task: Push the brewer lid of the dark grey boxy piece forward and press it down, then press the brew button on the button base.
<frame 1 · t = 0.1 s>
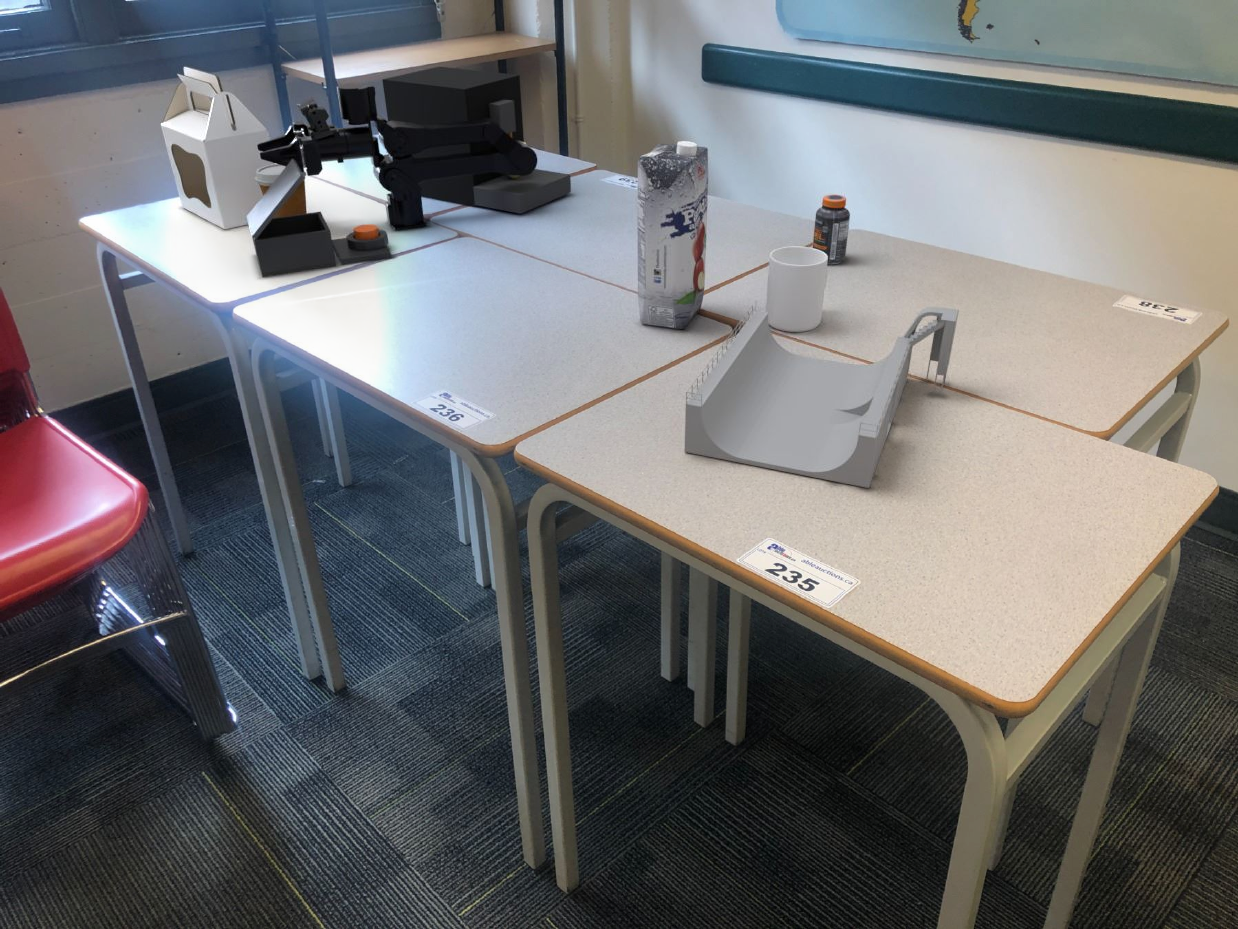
hand: (258, 151, 176), 17 cm above the table, tool horizontal, fingers open, 7 cm apart
disposable coffee cup: (291, 230, 191), on the table
juice carton: (671, 318, 150), on the table
pill bottle: (828, 260, 172), on the table
skate ramp: (822, 417, 122), on the table
coffee maker: (483, 194, 211), on the table
gable box: (233, 212, 202), on the table
mug: (799, 320, 149), on the table
brewer lid: (274, 198, 168), point 12 cm above the table, hinge at 43.2°, touching gripper
brew button: (366, 232, 177), point 3 cm above the table, slide at 0.1 cm
button base: (361, 251, 179), on the table
dark grey boxy piece: (295, 261, 175), on the table
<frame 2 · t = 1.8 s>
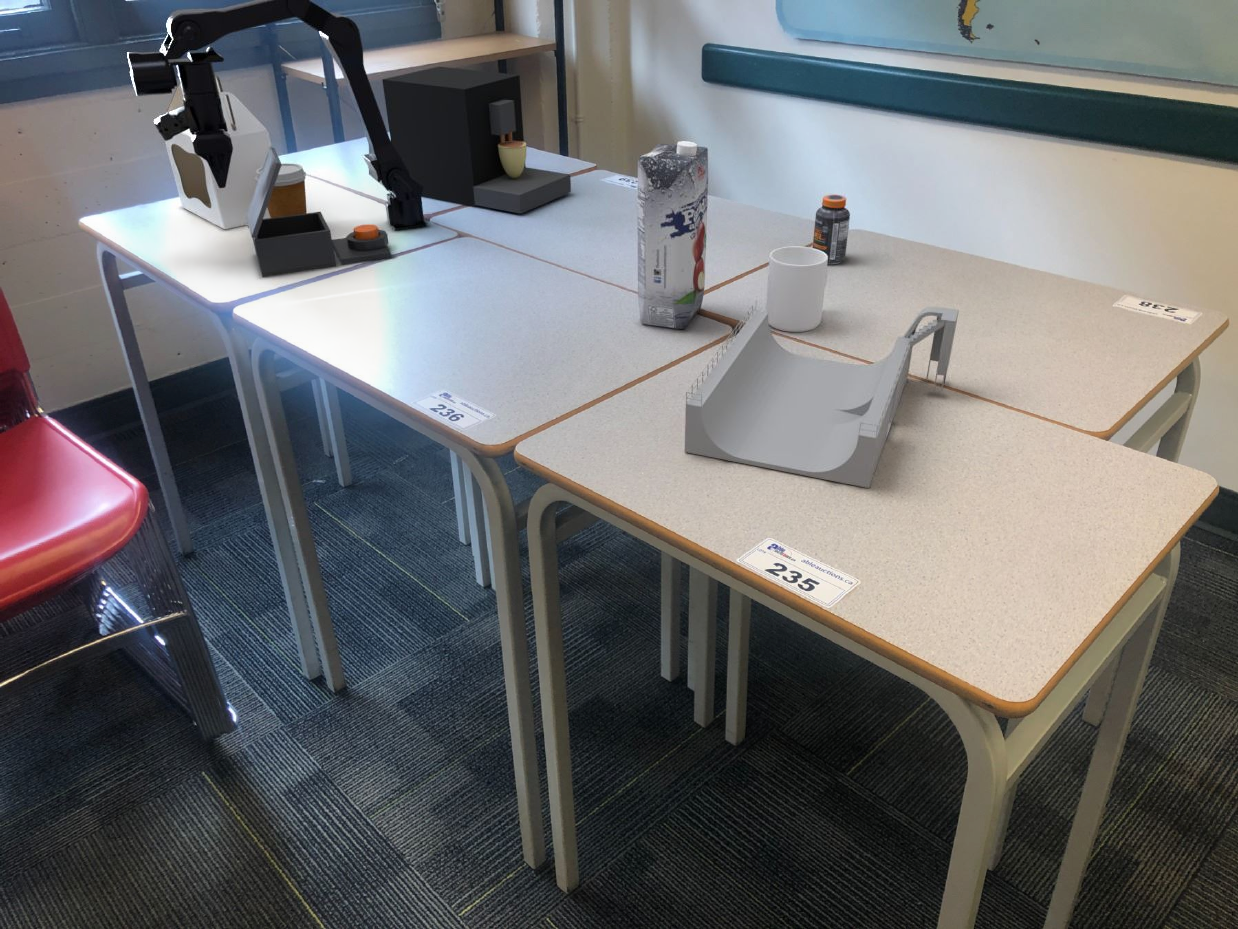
hand: (220, 182, 172), 13 cm above the table, tool pointing down, fingers open, 8 cm apart
brewer lid: (263, 191, 167), point 13 cm above the table, hinge at 60.9°
everything else where it was.
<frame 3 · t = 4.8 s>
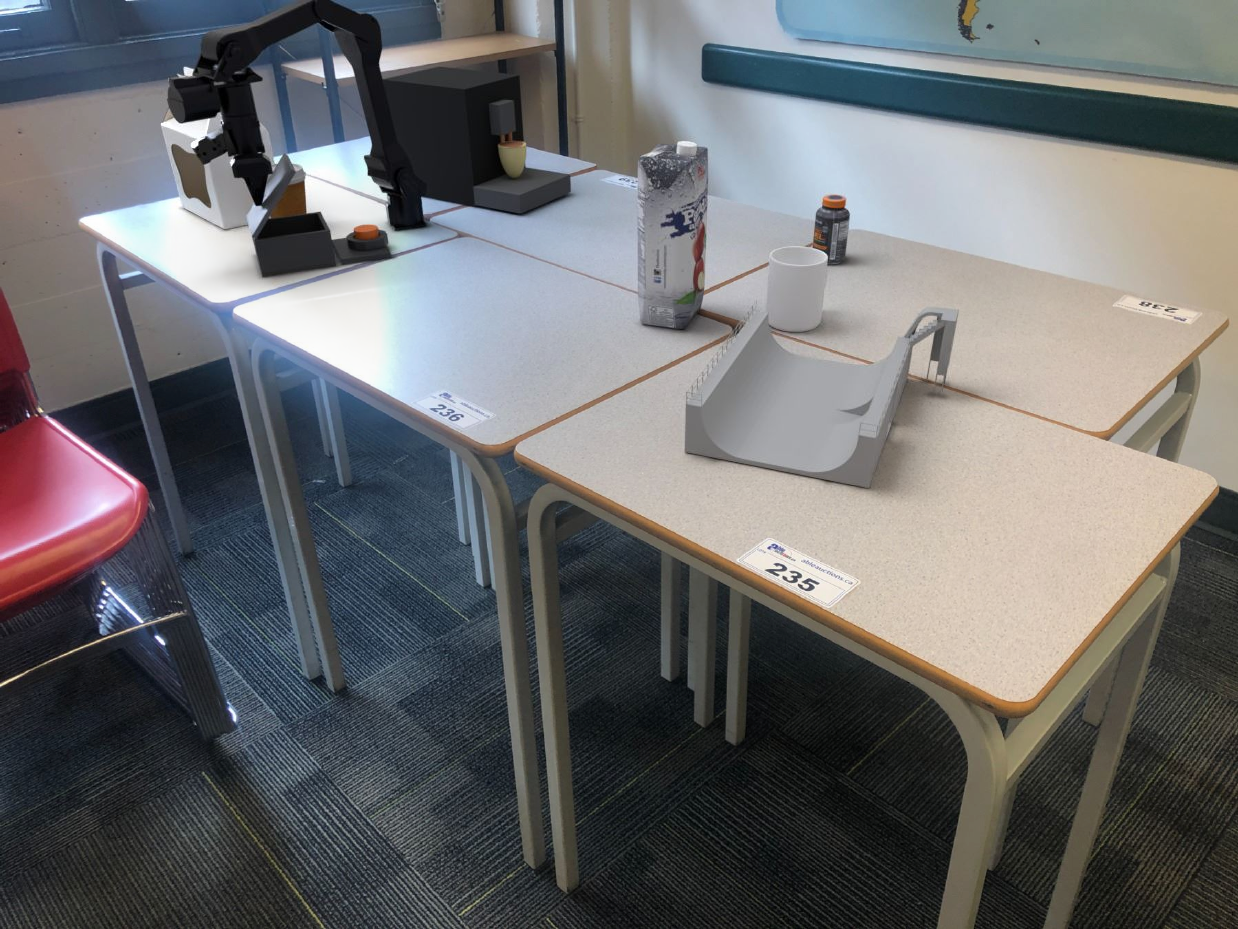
hand: (258, 205, 168), 11 cm above the table, tool pointing down, fingers closed
brewer lid: (270, 195, 168), point 12 cm above the table, hinge at 50.2°
everything else where it was.
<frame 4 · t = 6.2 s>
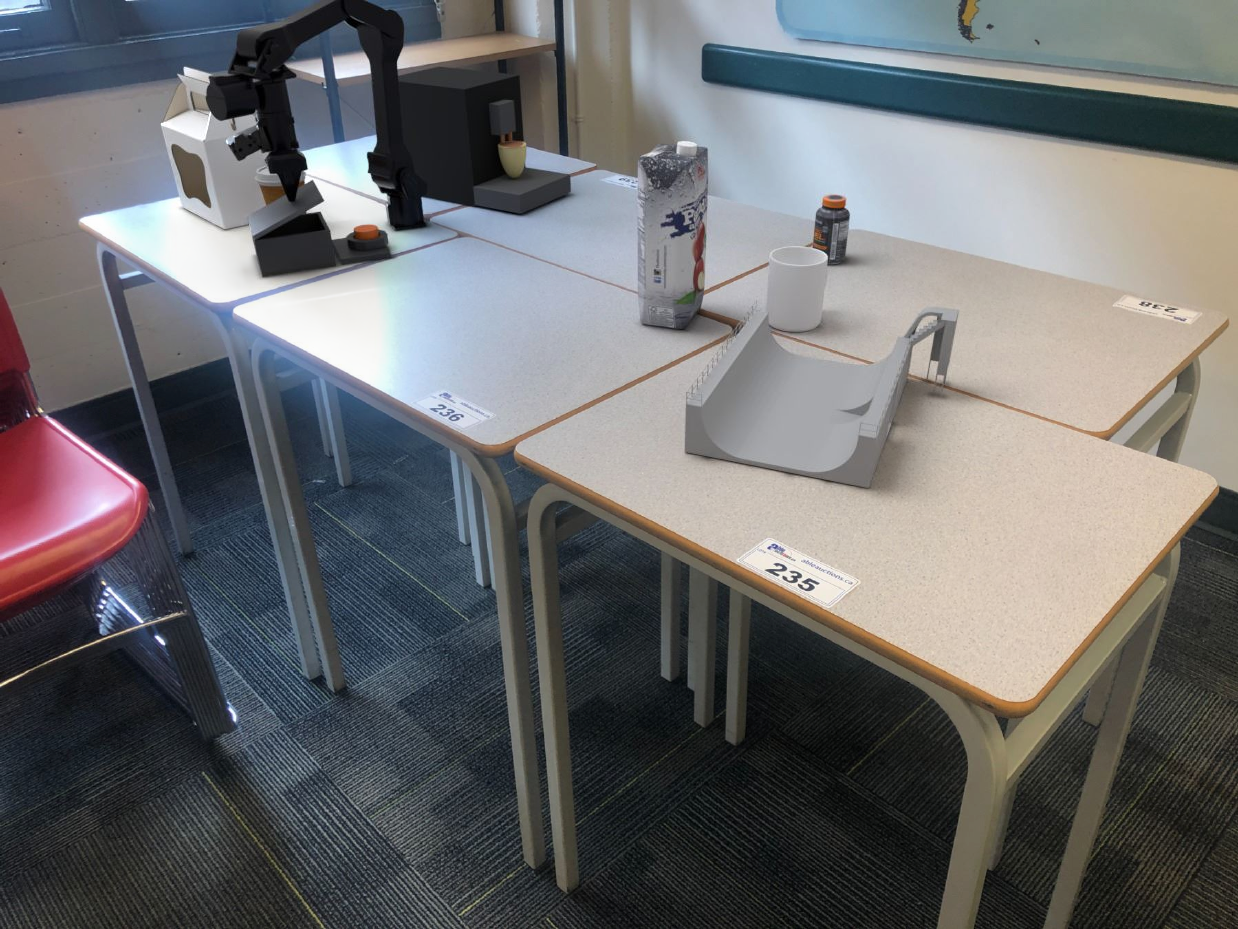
hand: (291, 201, 170), 11 cm above the table, tool pointing down, fingers closed
brewer lid: (284, 208, 170), point 10 cm above the table, hinge at 22.1°
everything else where it was.
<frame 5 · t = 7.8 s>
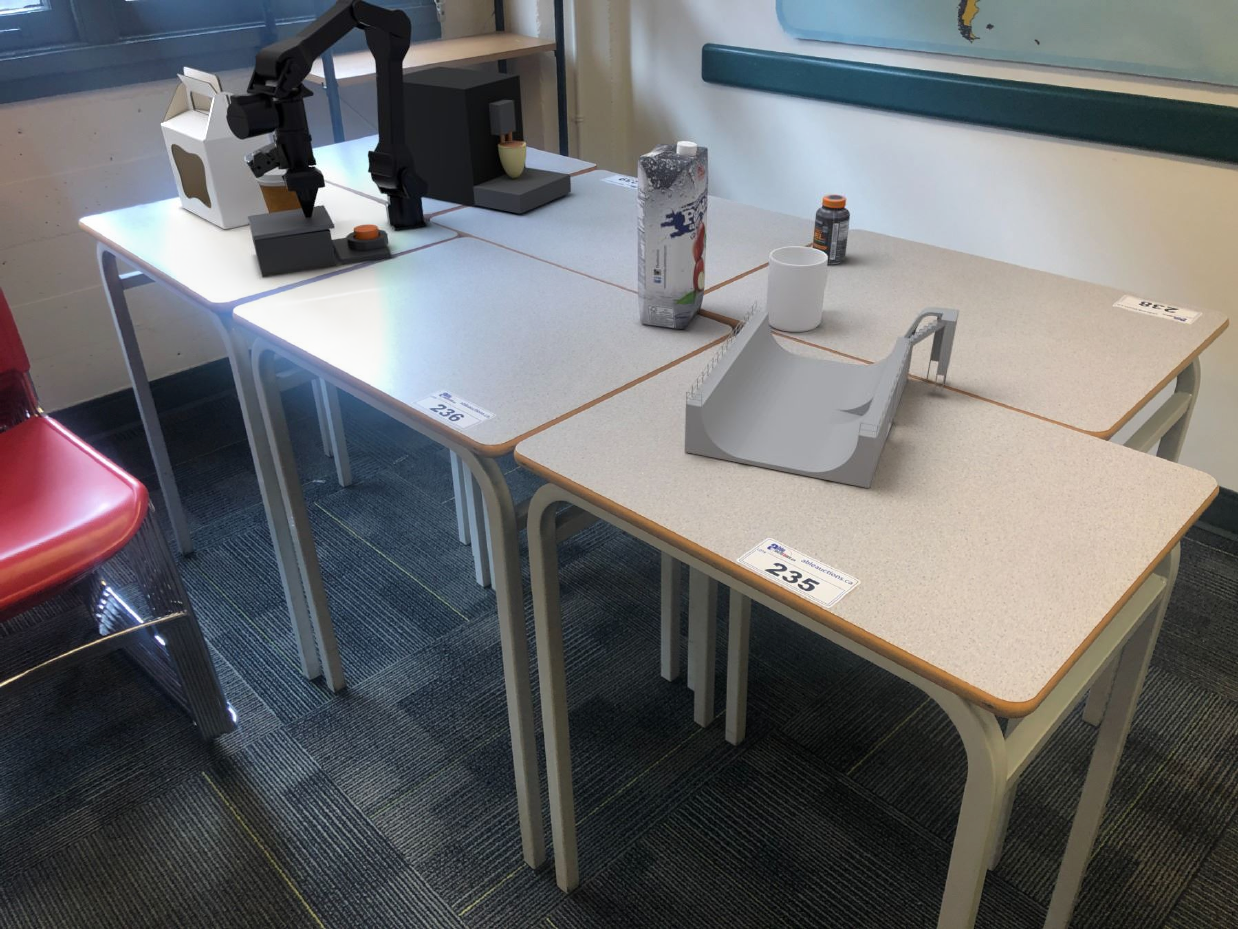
hand: (308, 216, 172), 8 cm above the table, tool pointing down, fingers closed, pressing on brewer lid
brewer lid: (290, 221, 171), point 7 cm above the table, hinge at 1.1°, touching gripper
everything else where it was.
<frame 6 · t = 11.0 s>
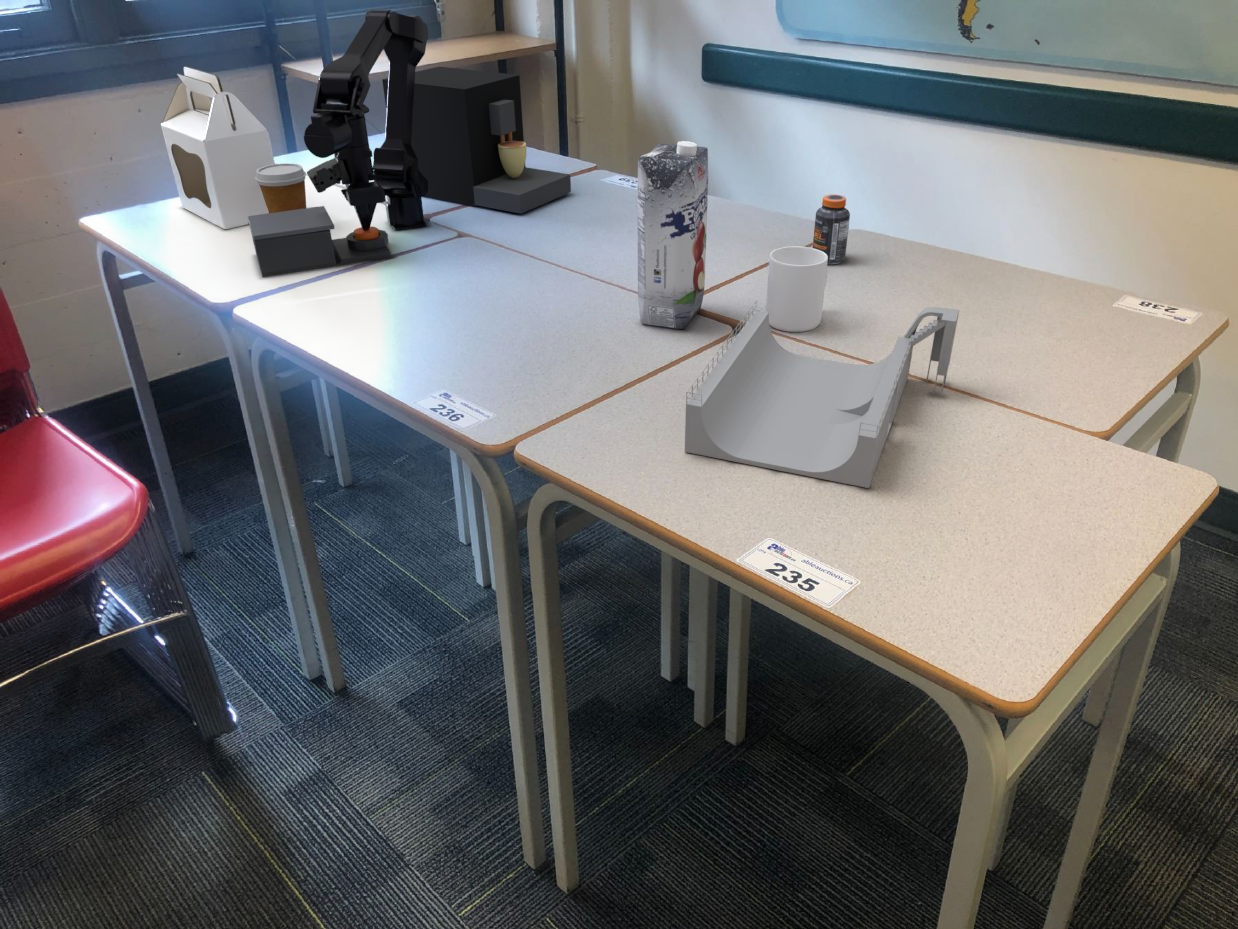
hand: (366, 229, 177), 4 cm above the table, tool pointing down, fingers closed, pressing on brew button
brewer lid: (290, 222, 171), point 7 cm above the table, hinge at 0.5°
brew button: (366, 234, 178), point 3 cm above the table, slide at -0.3 cm, touching gripper
everything else where it was.
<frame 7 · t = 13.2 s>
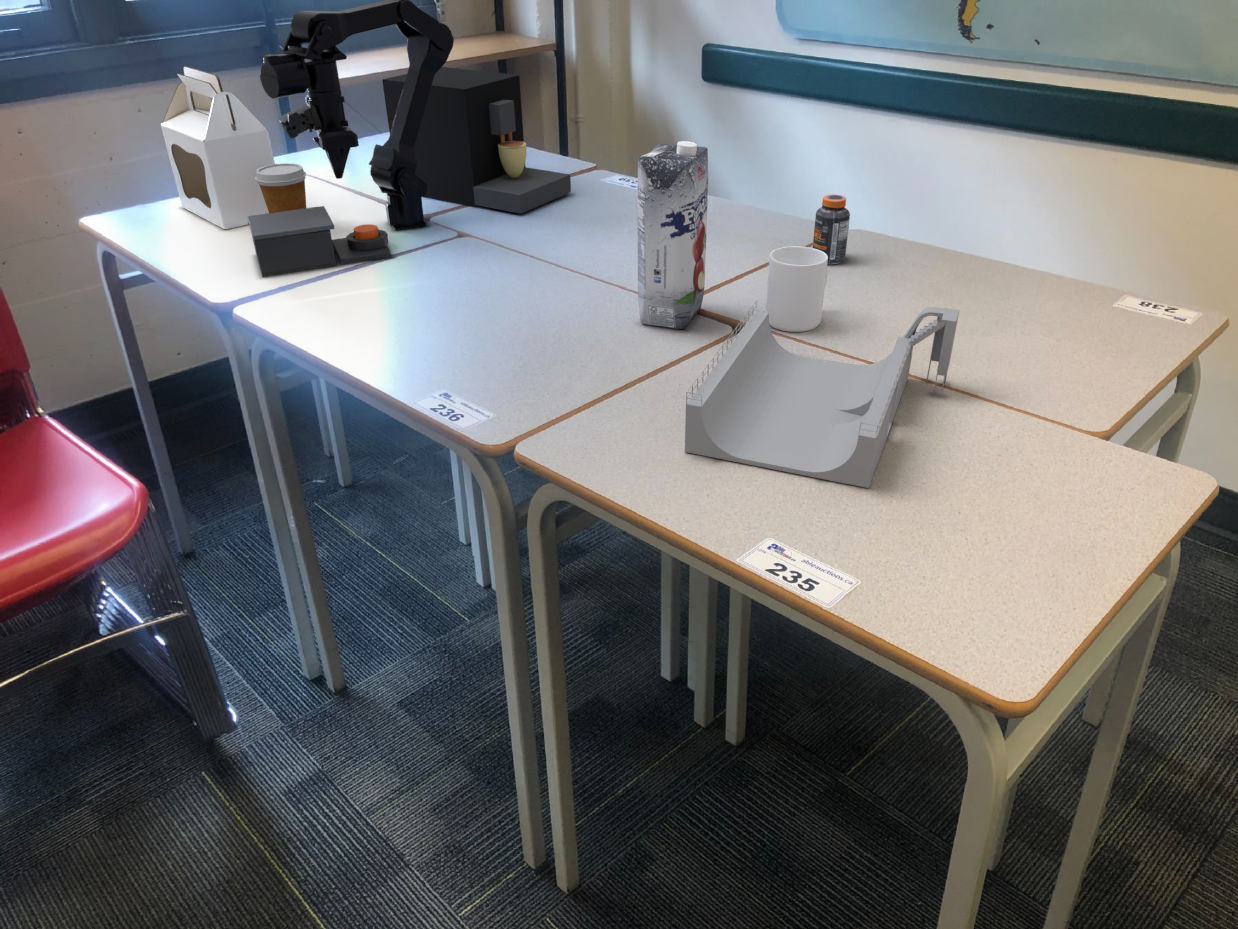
hand: (339, 178, 177), 12 cm above the table, tool pointing down, fingers closed
brew button: (366, 232, 177), point 3 cm above the table, slide at 0.1 cm
everything else where it was.
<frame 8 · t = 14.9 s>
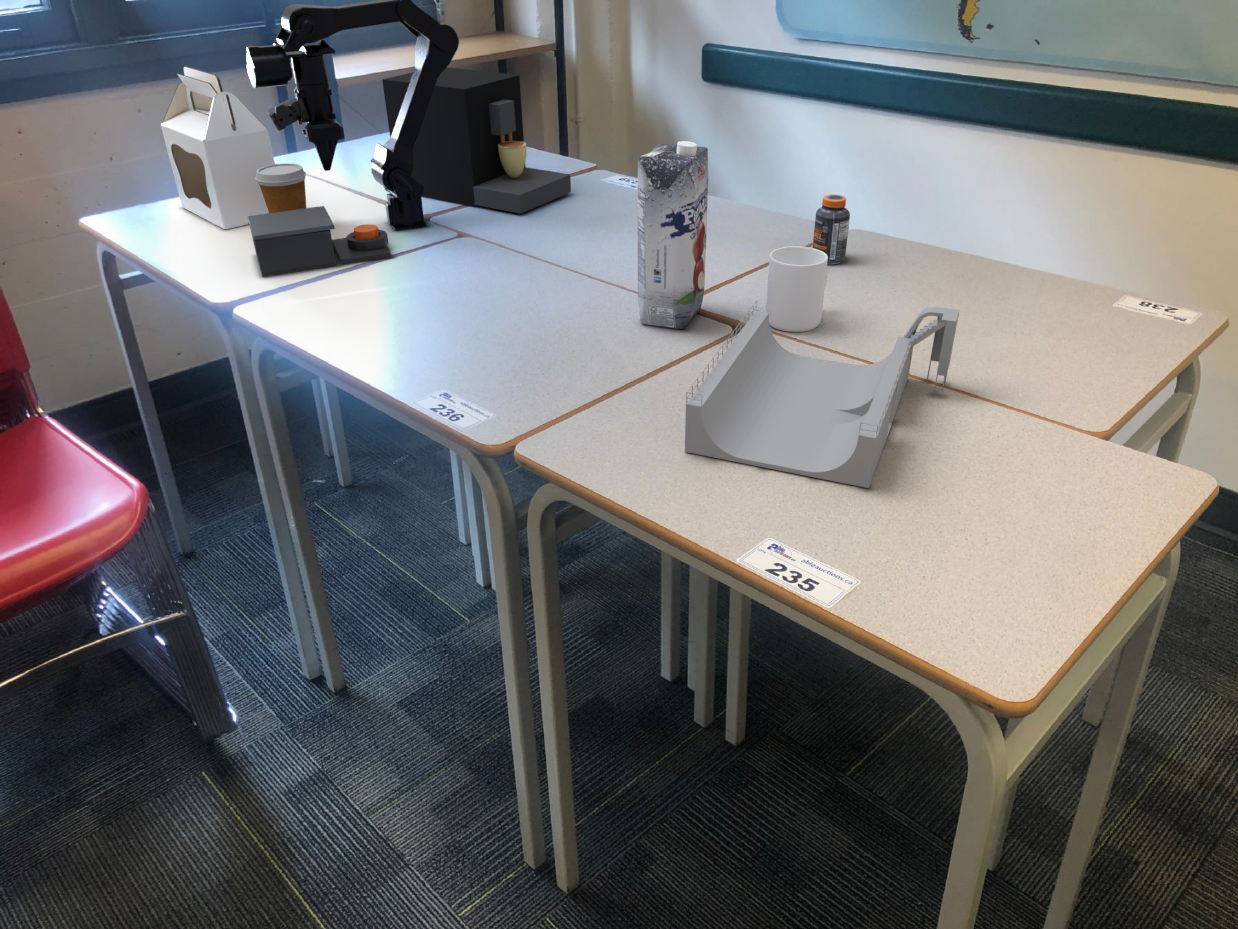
hand: (327, 170, 179), 13 cm above the table, tool pointing down, fingers closed
nothing on the table moved.
at the end: brewer lid at +0° (first picture: +43°); brew button pushed in 1.2 cm at the most during the clip, back to where it started at the end; brew button slide at 0.1 cm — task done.
